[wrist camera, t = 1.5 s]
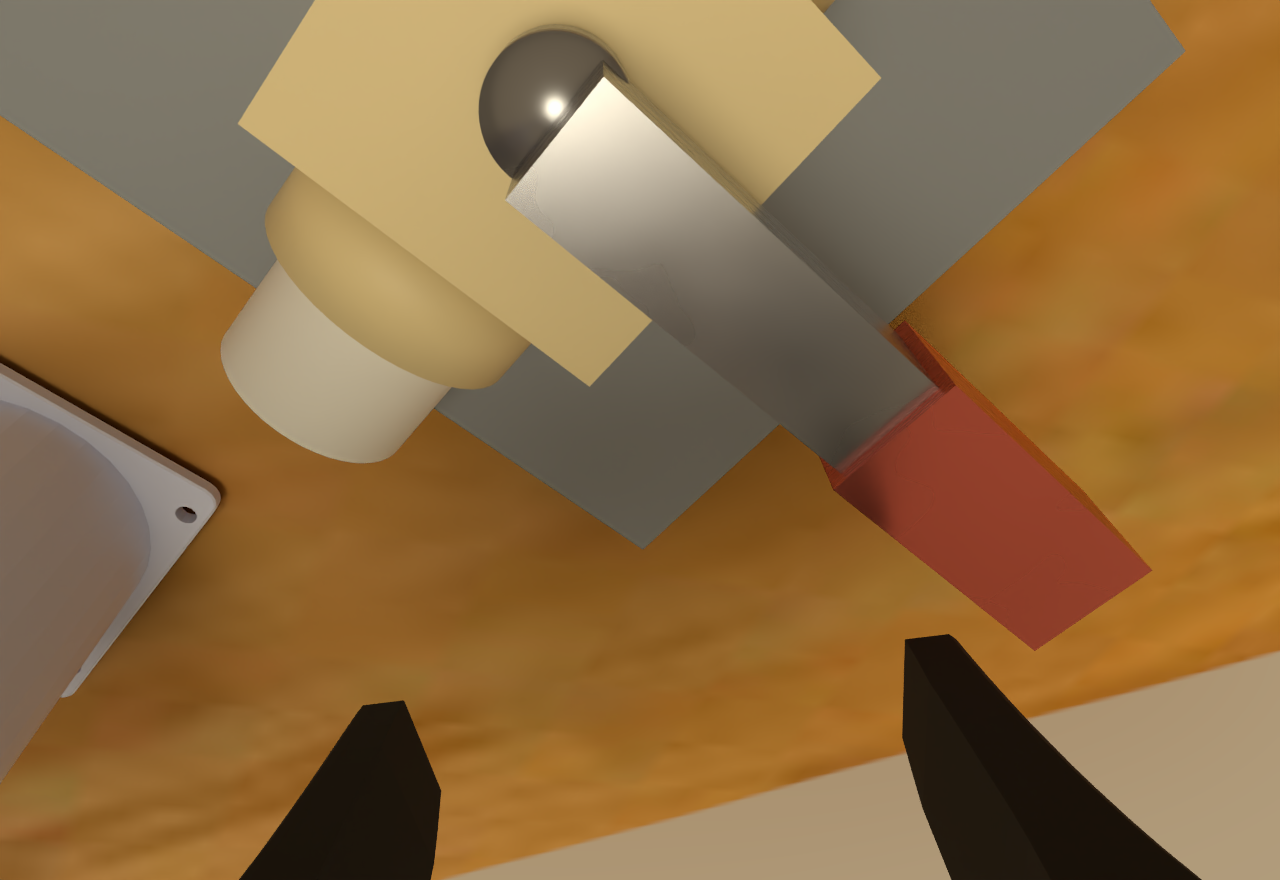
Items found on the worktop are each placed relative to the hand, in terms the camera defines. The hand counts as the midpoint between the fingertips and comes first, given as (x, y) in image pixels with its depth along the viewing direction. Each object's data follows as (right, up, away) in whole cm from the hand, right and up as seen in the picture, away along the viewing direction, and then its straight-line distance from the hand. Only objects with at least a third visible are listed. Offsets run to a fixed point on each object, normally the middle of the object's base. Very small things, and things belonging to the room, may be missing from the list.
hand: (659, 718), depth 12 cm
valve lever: (+2, +6, +1) cm, 6 cm away
